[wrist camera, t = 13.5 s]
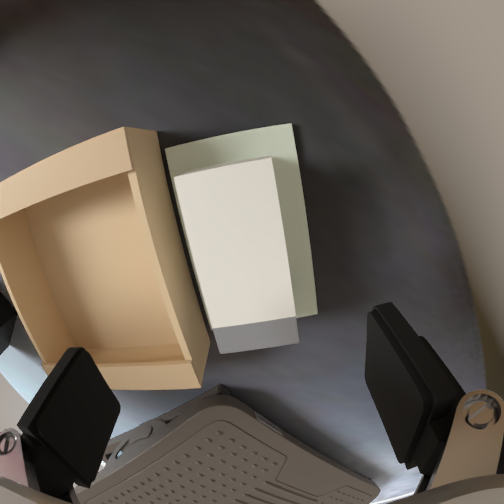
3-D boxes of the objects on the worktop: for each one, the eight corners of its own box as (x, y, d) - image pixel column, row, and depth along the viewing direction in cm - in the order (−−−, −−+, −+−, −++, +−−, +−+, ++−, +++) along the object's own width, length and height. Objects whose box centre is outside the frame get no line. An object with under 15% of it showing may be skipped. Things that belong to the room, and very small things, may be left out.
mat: (166, 148, 20) (164, 148, 20) (290, 123, 19) (291, 123, 19) (211, 327, 25) (211, 330, 25) (316, 311, 24) (317, 314, 24)
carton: (18, 184, 21) (-25, 197, 15) (156, 131, 20) (123, 126, 14) (78, 350, 26) (54, 385, 21) (210, 341, 26) (201, 388, 20)
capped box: (195, 169, 20) (173, 177, 14) (266, 155, 20) (271, 157, 14) (227, 307, 24) (220, 353, 18) (289, 297, 23) (299, 342, 18)
